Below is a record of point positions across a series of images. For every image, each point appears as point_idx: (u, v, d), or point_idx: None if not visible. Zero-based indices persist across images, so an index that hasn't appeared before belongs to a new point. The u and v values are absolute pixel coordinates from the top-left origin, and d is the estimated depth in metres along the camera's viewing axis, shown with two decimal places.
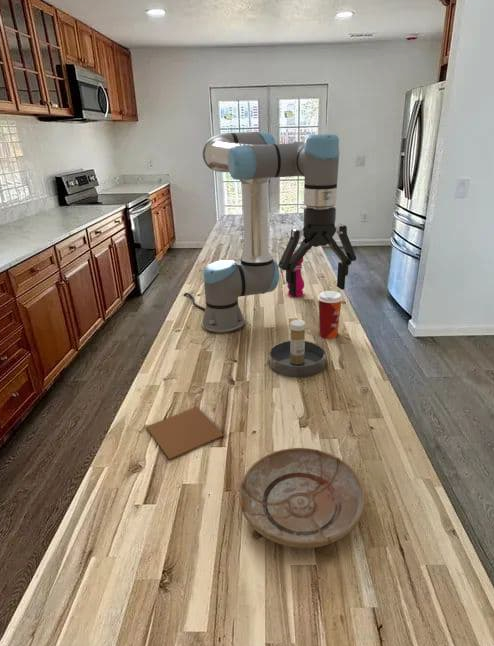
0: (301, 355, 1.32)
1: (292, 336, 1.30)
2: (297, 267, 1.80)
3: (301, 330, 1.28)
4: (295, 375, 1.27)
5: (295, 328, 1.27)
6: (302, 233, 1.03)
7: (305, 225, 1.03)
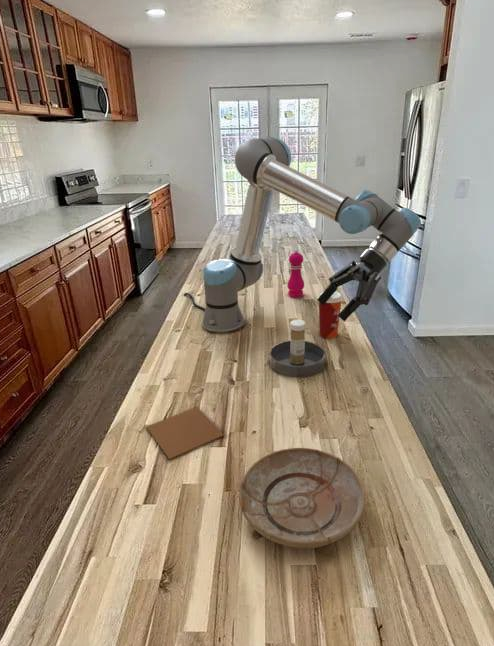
0: (301, 355, 1.32)
1: (292, 336, 1.30)
2: (297, 267, 1.80)
3: (301, 330, 1.28)
4: (295, 375, 1.27)
5: (295, 328, 1.27)
6: (355, 265, 1.33)
7: None
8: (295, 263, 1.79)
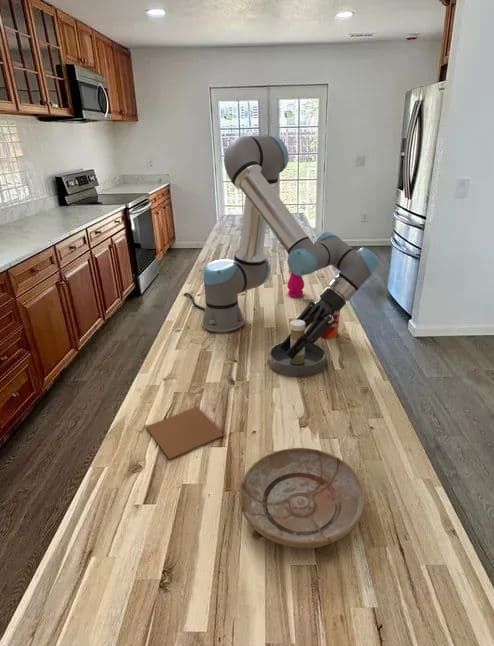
0: (301, 355, 1.32)
1: (292, 336, 1.30)
2: None
3: (301, 330, 1.28)
4: (295, 375, 1.27)
5: (295, 328, 1.27)
6: (315, 304, 1.34)
7: None
8: None
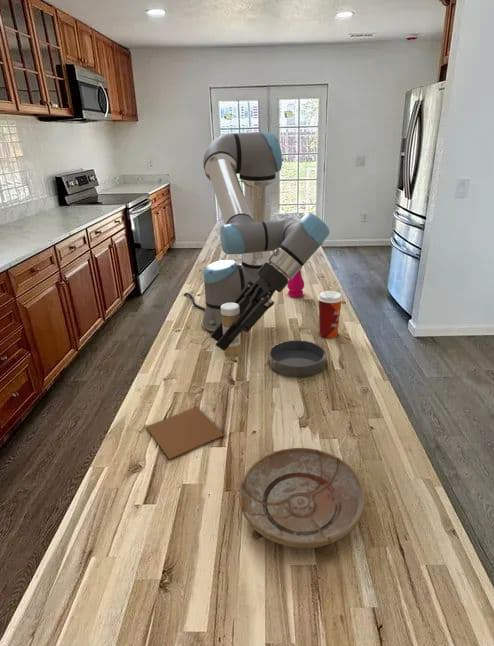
0: (236, 346, 1.08)
1: (223, 323, 1.05)
2: None
3: (233, 315, 1.04)
4: (295, 375, 1.27)
5: (226, 312, 1.03)
6: None
7: None
8: None
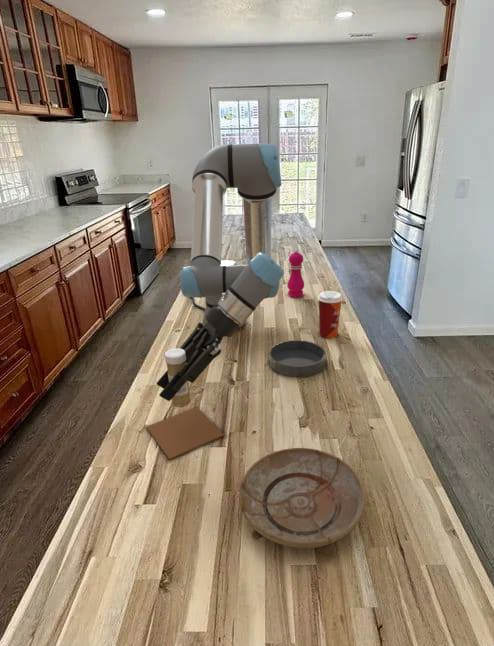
0: (183, 395, 0.99)
1: (168, 371, 0.97)
2: (297, 267, 1.80)
3: (178, 363, 0.95)
4: (295, 375, 1.27)
5: (170, 361, 0.95)
6: (204, 327, 1.01)
7: None
8: (295, 263, 1.79)
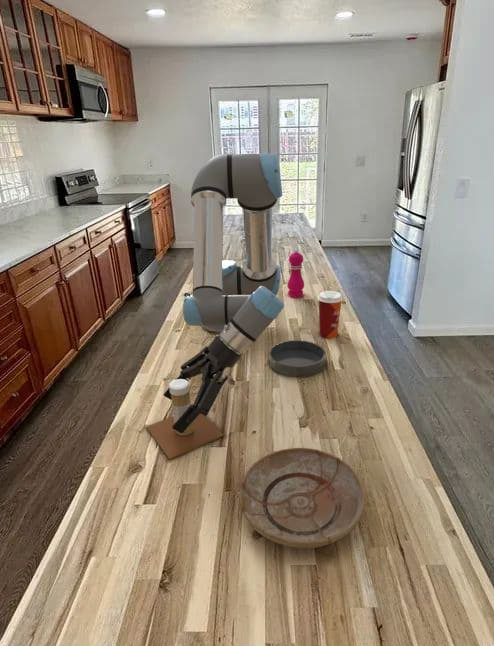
0: None
1: (172, 401, 1.00)
2: (297, 267, 1.80)
3: (182, 394, 0.99)
4: (295, 375, 1.27)
5: (174, 392, 0.98)
6: (208, 354, 1.04)
7: None
8: (295, 263, 1.79)
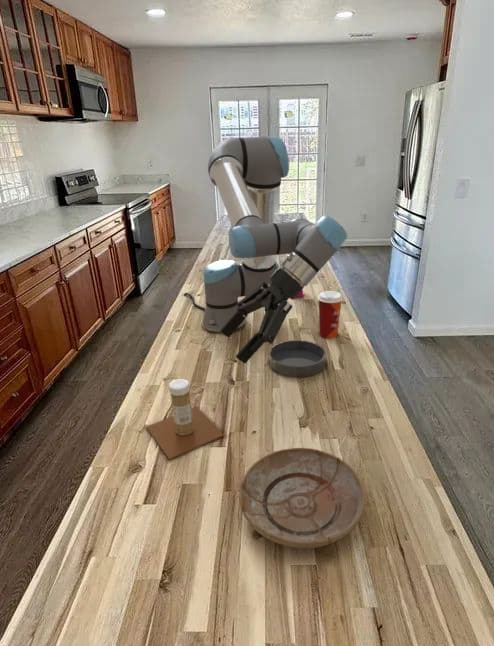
0: (186, 424, 1.02)
1: (172, 401, 1.00)
2: None
3: (182, 394, 0.99)
4: (295, 375, 1.27)
5: (174, 392, 0.98)
6: None
7: None
8: None
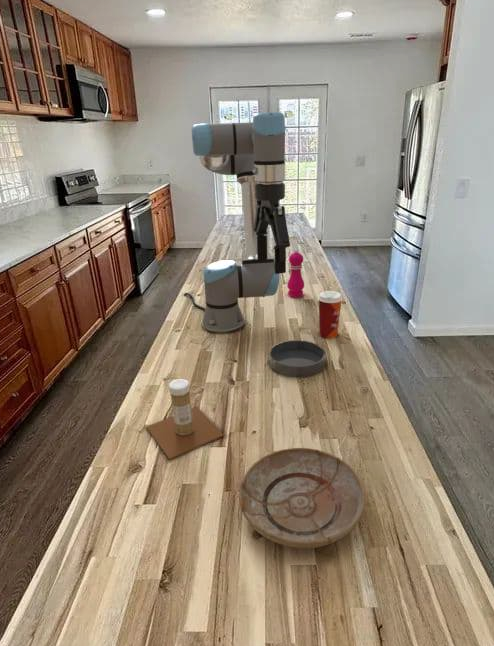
0: (186, 424, 1.02)
1: (172, 401, 1.00)
2: (297, 267, 1.80)
3: (182, 394, 0.99)
4: (295, 375, 1.27)
5: (174, 392, 0.98)
6: None
7: None
8: (295, 263, 1.79)
